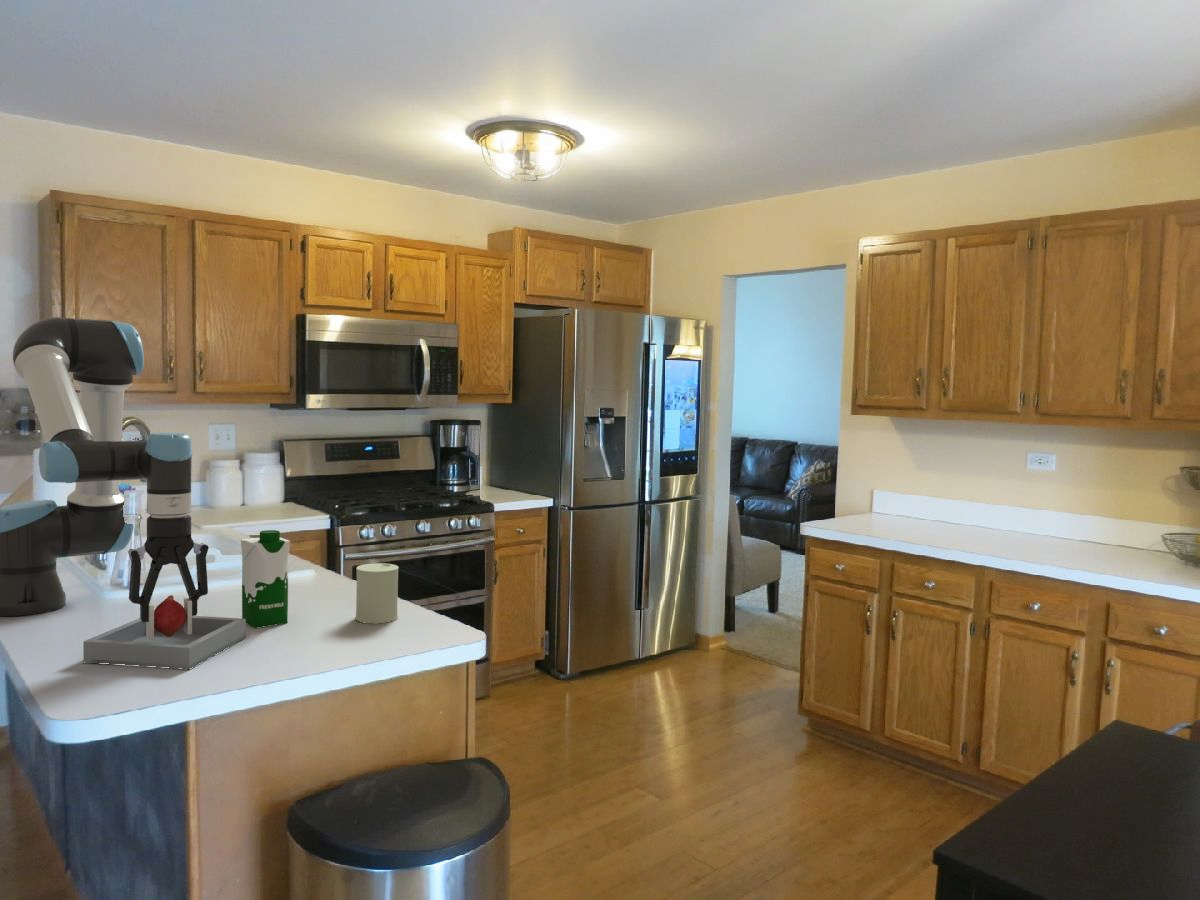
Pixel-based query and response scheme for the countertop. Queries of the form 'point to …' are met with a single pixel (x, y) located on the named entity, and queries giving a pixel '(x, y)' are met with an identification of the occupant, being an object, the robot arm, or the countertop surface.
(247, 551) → the milk carton
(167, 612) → the onion
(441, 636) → the countertop surface
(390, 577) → the can
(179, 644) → the tray
